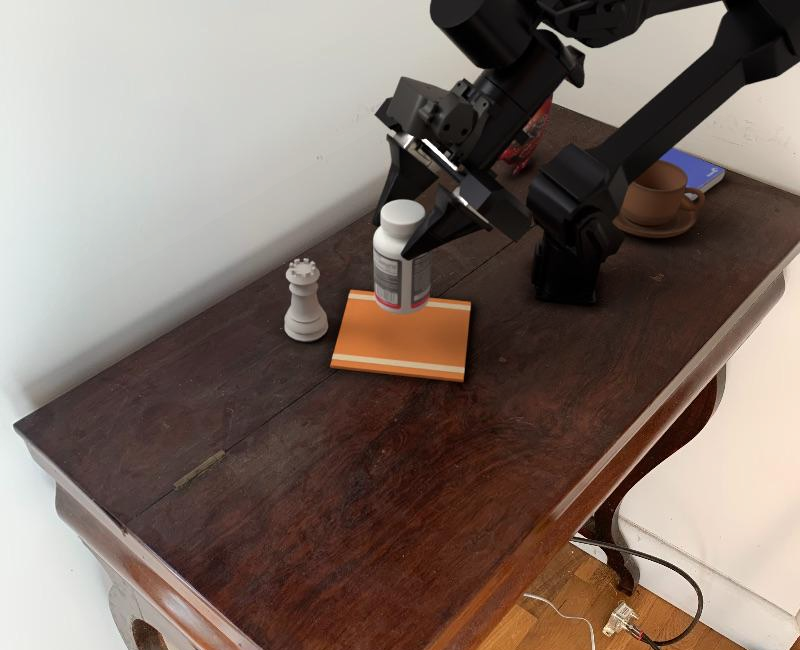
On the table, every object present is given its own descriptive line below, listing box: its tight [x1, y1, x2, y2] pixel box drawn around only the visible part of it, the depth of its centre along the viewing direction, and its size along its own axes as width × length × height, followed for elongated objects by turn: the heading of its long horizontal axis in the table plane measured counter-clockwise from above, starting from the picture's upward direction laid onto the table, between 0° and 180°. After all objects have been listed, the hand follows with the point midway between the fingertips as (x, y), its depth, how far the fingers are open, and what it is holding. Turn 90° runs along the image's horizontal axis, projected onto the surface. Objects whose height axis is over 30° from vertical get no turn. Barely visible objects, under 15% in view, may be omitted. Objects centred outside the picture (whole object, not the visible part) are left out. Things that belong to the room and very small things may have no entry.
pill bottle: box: [372, 200, 433, 314], centre depth 74 cm, size 5×5×10 cm
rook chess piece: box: [284, 257, 329, 343], centre depth 79 cm, size 4×4×8 cm
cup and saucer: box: [612, 160, 706, 239], centre depth 96 cm, size 12×12×6 cm
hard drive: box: [659, 147, 726, 201], centre depth 106 cm, size 2×8×12 cm
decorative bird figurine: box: [497, 93, 554, 176], centre depth 101 cm, size 3×18×10 cm, turn 149°
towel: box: [330, 289, 472, 383], centre depth 82 cm, size 13×12×1 cm
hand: (389, 241), depth 72 cm, fingers closed on pill bottle, 5 cm apart
